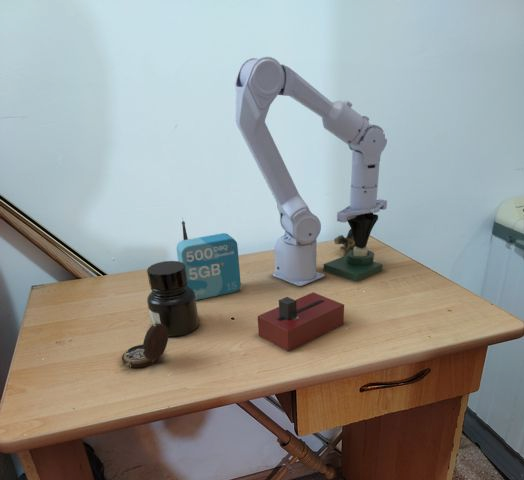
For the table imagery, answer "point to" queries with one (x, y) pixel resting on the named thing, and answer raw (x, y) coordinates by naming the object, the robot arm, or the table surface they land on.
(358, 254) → the button
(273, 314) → the slider base
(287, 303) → the slider knob
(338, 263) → the button block
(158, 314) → the ink bottle
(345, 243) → the eagle figurine
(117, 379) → the table surface
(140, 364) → the compass
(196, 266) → the data package
